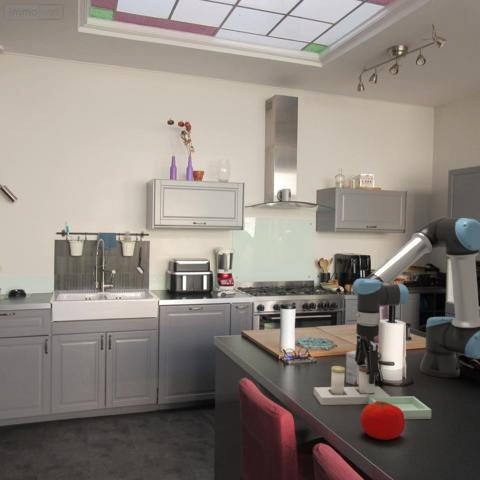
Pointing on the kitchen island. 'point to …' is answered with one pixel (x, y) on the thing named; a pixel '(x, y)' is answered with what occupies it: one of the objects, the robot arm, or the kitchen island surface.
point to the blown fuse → (362, 380)
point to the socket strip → (343, 391)
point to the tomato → (382, 420)
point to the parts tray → (406, 406)
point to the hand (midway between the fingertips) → (365, 387)
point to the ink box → (351, 368)
